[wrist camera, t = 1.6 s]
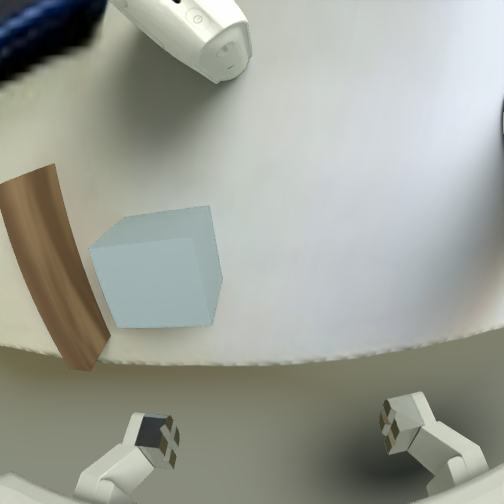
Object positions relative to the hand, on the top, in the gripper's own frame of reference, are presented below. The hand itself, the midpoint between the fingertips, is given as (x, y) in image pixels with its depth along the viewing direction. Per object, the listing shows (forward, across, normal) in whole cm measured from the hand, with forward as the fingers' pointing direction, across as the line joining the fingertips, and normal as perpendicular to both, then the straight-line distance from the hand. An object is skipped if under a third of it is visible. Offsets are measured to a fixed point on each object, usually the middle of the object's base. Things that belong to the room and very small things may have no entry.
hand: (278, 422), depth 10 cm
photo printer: (+18, +4, -18) cm, 26 cm away
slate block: (+18, +8, 0) cm, 20 cm away
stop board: (+18, +20, 0) cm, 27 cm away
